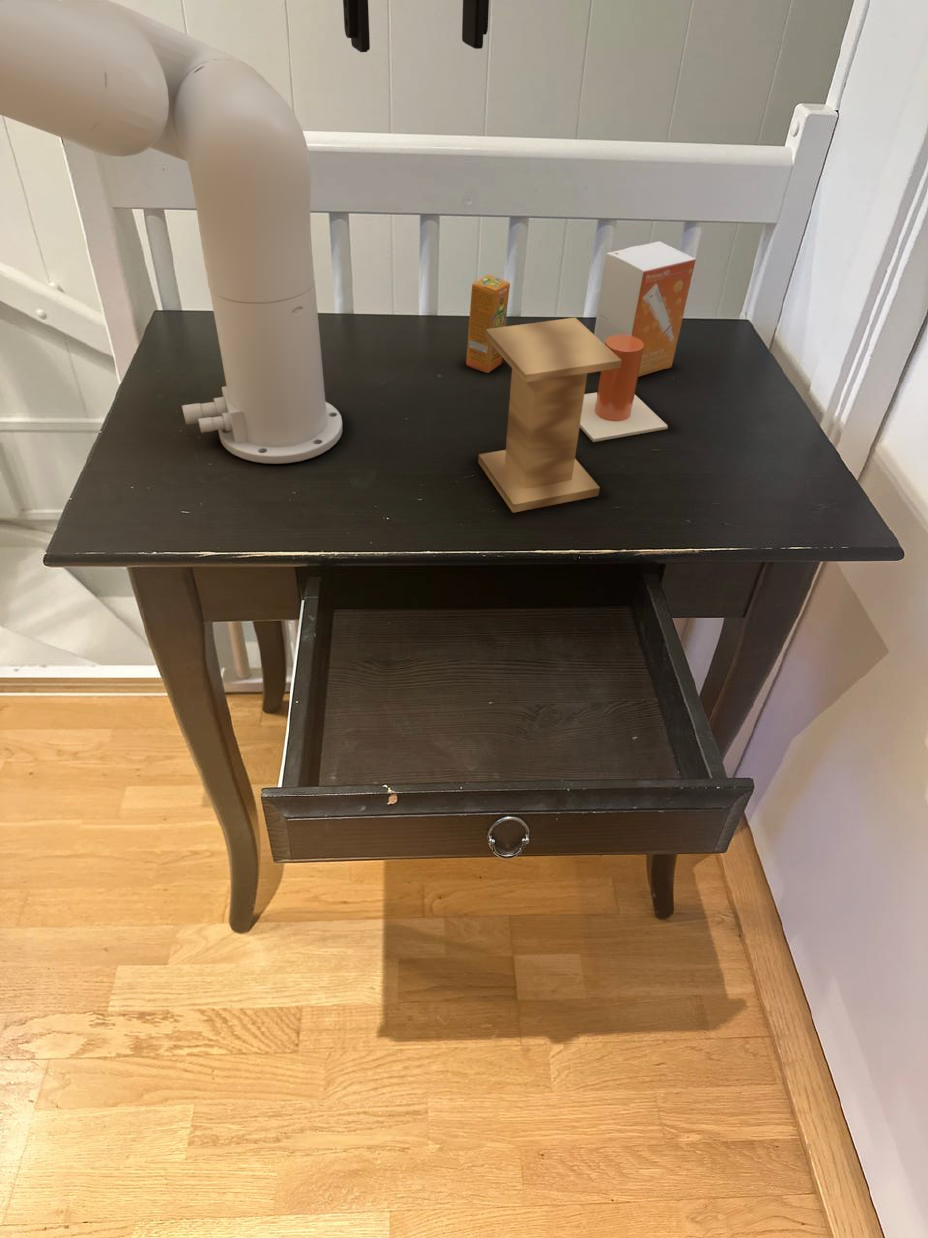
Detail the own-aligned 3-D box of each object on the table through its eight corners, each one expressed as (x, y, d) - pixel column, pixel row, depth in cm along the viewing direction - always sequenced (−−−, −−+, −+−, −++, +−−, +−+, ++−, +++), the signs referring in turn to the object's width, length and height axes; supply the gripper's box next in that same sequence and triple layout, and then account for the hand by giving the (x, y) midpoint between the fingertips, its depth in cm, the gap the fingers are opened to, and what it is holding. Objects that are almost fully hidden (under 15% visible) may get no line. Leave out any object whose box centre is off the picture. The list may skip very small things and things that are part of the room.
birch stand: (512, 513, 78) (525, 374, 69) (478, 462, 84) (485, 328, 75) (598, 496, 81) (622, 359, 71) (558, 448, 87) (575, 316, 77)
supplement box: (489, 374, 98) (494, 289, 91) (465, 366, 100) (468, 281, 93) (504, 364, 100) (510, 280, 94) (480, 356, 102) (485, 272, 95)
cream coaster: (593, 442, 88) (593, 438, 88) (556, 401, 94) (557, 398, 94) (667, 429, 91) (668, 425, 90) (627, 390, 97) (627, 387, 96)
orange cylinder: (604, 423, 90) (616, 353, 85) (588, 405, 93) (598, 336, 87) (637, 418, 91) (651, 348, 86) (620, 400, 94) (632, 332, 89)
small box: (623, 383, 98) (643, 270, 89) (588, 361, 102) (604, 251, 93) (673, 367, 101) (698, 257, 92) (638, 347, 105) (658, 239, 96)
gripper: (302, -267, 52) (324, 59, 64) (554, -247, 57) (532, 53, 69) (278, -260, 57) (303, 41, 69) (511, -243, 62) (497, 36, 74)
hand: (417, 47), depth 69 cm, fingers open, 9 cm apart
